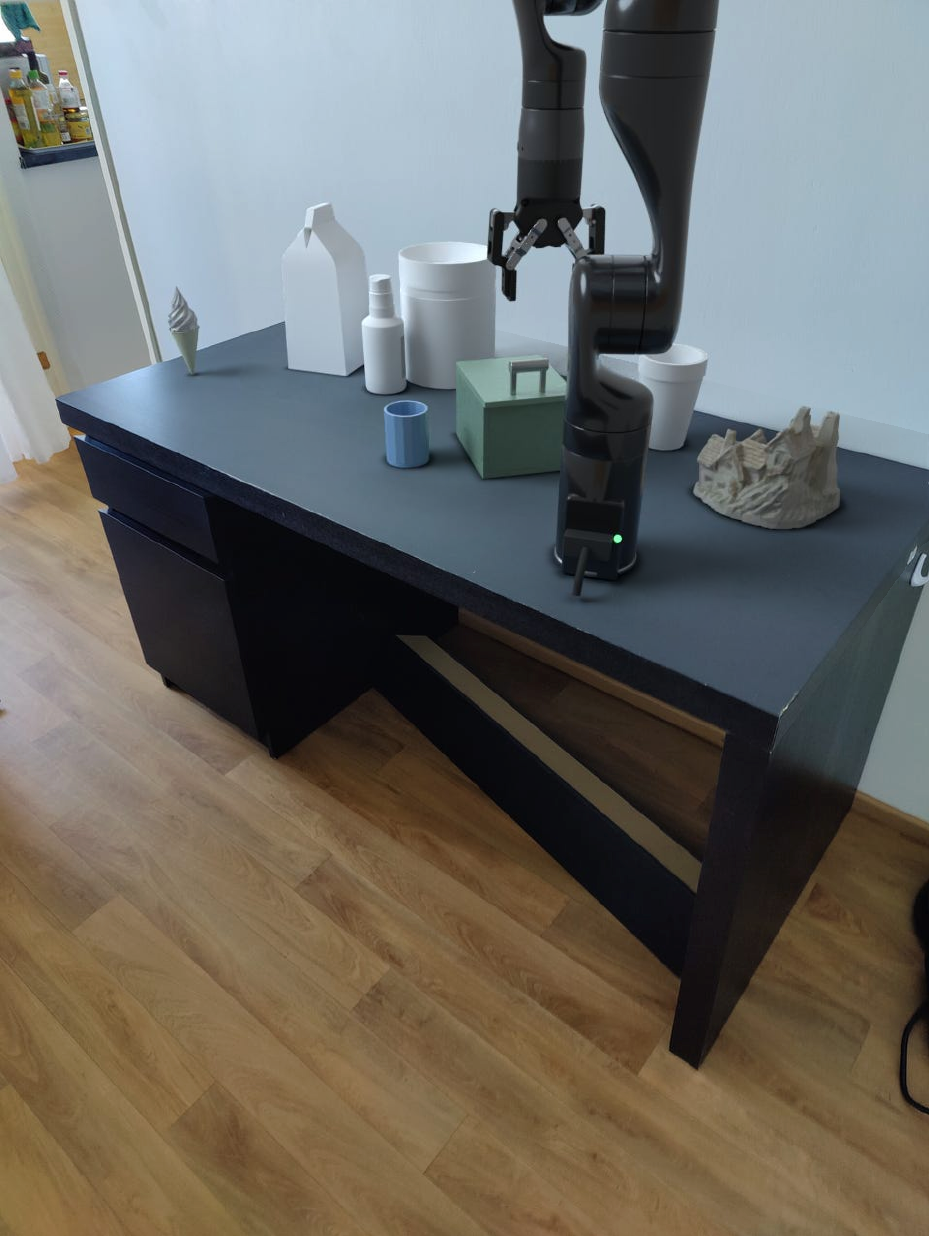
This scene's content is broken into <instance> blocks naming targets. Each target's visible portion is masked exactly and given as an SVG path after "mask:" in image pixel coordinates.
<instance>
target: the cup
mask: <svg viewBox="0 0 929 1236" xmlns="http://www.w3.org/2000/svg"><path fill="white" fill-rule="evenodd" d="M383 419H384V432H385V433H384V434H385V435H384V436H385V437H384V438H385V454H386V461H387V463H388V464H389V465H390V466H393V467H397V468H403V469H411V468H412V469H413V468H418V467H421V466H424V465H426V464H427V463H428V462H429V460H430V436H429V435H430V434H429V432H430V431H429V430H430V429H429V408H428V405H427V404H425V403H424V402H420V401H417V400H408V399H407V400H398V401H393V402H390V403H388V404H386V405H385V406H384V407H383Z"/></svg>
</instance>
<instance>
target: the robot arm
mask: <svg viewBox="0 0 929 1236" xmlns="http://www.w3.org/2000/svg"><path fill="white" fill-rule="evenodd" d="M604 1H605V0H511V4H512V8H513V12H514V17H515V22H516V27H517V31H518V38H519V46H520V52H521V55H520V56H521V101H520V102H521V103H520V104H521V108H520V117H519V123H518V131H517V132H518V133H517V142H516V150H517V165H516V166H517V167H516V171H517V172H516V202H515V206H514V208H513V210H500V209H498V208H497V207H493V208H491V209H490V211H489V214H488V215H489V217H488V233H487V245H486V246H487V259H488V260H489V261H490V262H491V263H492V264H493V265H495V266H496V267H500V269H501V292H502V295H503V296H504V297H505V298H506V300H508V301H509V302H516V301H517V283H518V281H517V280H518V279H517V276H518V270H517V269H516V267H517V266H518V265H519V263H520V261H521V260H522V258H523V257H524V256H526V255H527V254H528V253H529V251H530V250H531V248H532V247H533V248H535V249H544V248H547V247H552V248H561V247H562V246H563V245H564V246H565V248H566V249H568V251H569V253H570V255H571V256H572V257H573V259H574V262H572V265H571V266H572V267H571V275H570V281H569V288H568V302H567V303H568V306H567V311H568V312H567V370H566V382H567V383H566V396H565V407H564V422H563V438H562V451H561V467H560V471H559V485H558V500H557V514H556V515H557V516H556V520H557V521H556V534H555V546H554V552H553V557H554V560H555V562H556V563H557V564H558V565H559V566H560V567H561V569H560V570H561V571H560V572H561V573H562V574H568V575H573V576H574V581H573V586H572V593H571V595H572V596H575V597H581V596H582V595H581V594H582V589H583V584H584V578H585V577H586V578H587V577H588V578H595V579H600V580H601V579H602V580H609V581H616V580H617V577H618V576H619V575H623V574H625V573H627V572H629V571H631V570H632V568H634V566H635V564H636V562H637V561H636V560H637V547H638V539H639V538H638V537H639V528H640V521H641V512H642V505H643V497H644V496H643V495H644V489H645V480H646V471H647V464H648V463H647V462H648V456H649V455H648V454H649V441H650V433H651V425H652V417H653V409H654V397H653V394H652V392H651V391H650V389H649V388H648V387H646V386H645V385H644V384H642V383H640V382H639V380H636V379H634V378H632V377H629V376H627V375H623V374H621V373H619V372H617V371H616V370H613V369H611V368H610V367H608V366H607V365H606V364H604V363H603V362H602V361H601V360H600V356H601V355H623V356H625V355H626V356H628V355H629V356H632V355H633V356H635V355H637V356H639V355H656V354H663V353H665V352H667V351H668V350H669V349H670V348H671V347H672V345H673V344H675V341H676V339H677V335H678V332H679V329H680V323H681V318H682V311H683V301H684V290H685V281H686V279H685V278H686V270H687V269H686V268H687V255H688V243H689V230H690V219H691V218H690V217H691V208H692V207H691V205H692V196H693V186H694V177H695V170H696V162H697V157H698V151H699V144H700V139H701V131H702V127H703V126H702V125H703V119H704V113H705V108H706V102H707V95H708V91H709V90H708V89H709V82H710V78H711V69H712V62H713V55H714V47H715V42H716V41H715V39H716V32H717V31H716V29H717V25H718V16H719V9H720V8H719V7H720V0H606V3H605V8H604V15H603V24H602V28H603V30H602V38H601V50H600V51H601V52H600V66H599V79H598V94H599V100H600V104H601V107H602V111H603V114H604V117H605V120H606V122H607V124H608V126H609V129H610V131H611V133H612V135H613V137H614V139H615V141H616V143H617V146H618V147H619V149H620V151H621V153H622V155H623V157H624V159H625V161H626V163H627V165H628V167H629V170H630V171H631V173H632V174H633V177H634V180H635V182H636V184H637V187H638V190H639V192H640V194H641V198H642V200H643V203H644V206H645V208H646V212H647V215H648V219H649V224H650V230H651V239H652V245H651V252H650V254H609V253H607V254H605V251H606V250H605V249H606V248H605V247H606V216H607V215H606V214H607V213H606V209H605V207H603V206H601V205H599V204H597V203H592V204H591V205H590V206H582V205H581V195H582V181H583V166H584V165H583V163H584V151H585V134H586V133H585V131H586V129H585V125H586V124H585V99H586V98H585V97H586V95H585V94H586V82H587V69H588V68H587V66H588V64H587V63H588V62H587V61H588V60H587V53H586V51H585V50H584V48H583V47H581V46H580V45H577V44H575V43H570V42H566V41H561V40H559V39H557V38H556V39H555V38H553V37H552V36H551V35H550V33H549V31H548V29H547V27H546V24H545V17H583V16H588V15H590V14H592V13H594V12H595V11H597V10H598V8H599V7H600V6H601V5H602V4H603V2H604ZM582 219H584V223H585V225H587V226H588V246H587V247H588V248H587V249H585V248H584V247H583V244H582V242H581V240H580V239H579V237H578V236H577V234H576V232H575V230H576V229H577V227H578V226H579V224H580V223H581V221H582ZM512 222H513V223H514V225H515V226H516V228H517V230H518V231H517V233H516V234H515V236H514V237H513V238H512V239H511V242H510V244H509V246H508V248H507V249H506V251H505V253H504V254H503V246H504V234H505V231H507V230H508V229H509V227H510V224H511V223H512Z"/></svg>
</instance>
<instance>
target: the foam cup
mask: <svg viewBox="0 0 929 1236" xmlns="http://www.w3.org/2000/svg"><path fill="white" fill-rule="evenodd" d="M708 360H709V354H708V353H707V352H705V351H704V350H703V349H701V348H699V347H696V346H692V345H687V344H682V343H681V344H680V343H673V345H672V347H671V348H670V349H669V350H668V351H667V352H665V353H663V354H656V355H638V366H637V372H638V379H639V380H638V382H640V383H642V384H644V385H645V386H646V387H648V388H649V389H650V391H651V392H652V394H653V397H654V409H653V417H652V425H651V433H650V441H649V447H648V449H652V450H657V451H673V450H678V449H681V448H682V447H683V446H684V443H685V441H686V439H687V434H688V432H689V431H688V430H689V427H690V424H691V421H692V417H693V414H694V410H695V407H696V403H697V400H698V396H699V393H700V390H701V387H702V383H703V380H704V377H705V376H706V373H707V366H708Z"/></svg>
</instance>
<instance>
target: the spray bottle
mask: <svg viewBox="0 0 929 1236" xmlns="http://www.w3.org/2000/svg"><path fill="white" fill-rule="evenodd" d="M368 280H369V281H368V282H369V287H368V289H369V304H370V305H369V312H370V315H369V316H368V317H366V318H365V319H364V320H363V321H362V337H363V352H364V364H363V365H364V382H365V388H366V390H367V391H368V392H370V393H373V394H377V395H393V394H397V393H401V392H403V391H404V390H406V388H407V379H406V362H405V338H404V322H403V320H402V318H401V316H399V315H396V310H395V309H396V308H395V302H394V299H395V298H394V290H393V286H392V276H391V275H389V274H385V273H377V274H372V275H370V276H369V279H368Z"/></svg>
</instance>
